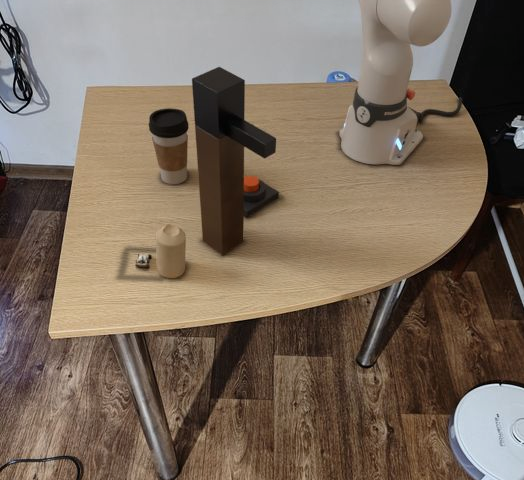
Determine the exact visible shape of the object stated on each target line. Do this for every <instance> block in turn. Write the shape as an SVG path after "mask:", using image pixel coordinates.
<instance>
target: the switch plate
mask: <svg viewBox="0 0 524 480" xmlns="http://www.w3.org/2000/svg"><path fill="white" fill-rule="evenodd" d="M258 180H259V189H258V190H257V191H256V192H246V191H244V217H245V218H249V217H251V216H252V215H254V214H256V213H257V212H259V211H260V210H262V209H264V208H265V207H266V206H268V205H270V204H271V203H274V201H276V200H278V199H279V197H280V195H279V194H280V191H279V190H276V188H273V187H272V186H271V185H269V184H267V183H266V182H264V181H263V180H262V179H259V178H258Z"/></svg>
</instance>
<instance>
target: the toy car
mask: <svg viewBox="0 0 524 480" xmlns="http://www.w3.org/2000/svg"><path fill="white" fill-rule="evenodd" d="M152 259H153V256H152V254H150V253H149V252H139V253H138V254H137V259H136V260H135V268H136V269H137V268H138V269H150V264H149V262H150V260H152Z"/></svg>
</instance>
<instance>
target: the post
mask: <svg viewBox="0 0 524 480" xmlns="http://www.w3.org/2000/svg"><path fill="white" fill-rule="evenodd" d="M194 130H195V131H194V132H195V144H196V145H195V146H196V160H197V176H198V189H199V190H198V191H199V203H200V205H199V206H200V219H201V220H200V221H201V235H202V242H203V243H205V244H206V245H207V246H208V247H210V248H211V249H212V250H214V251H216V252H217V253H218V254H219V255H221V256H224V255H226V254H227V253H229V252H230V251H232V250H233V249H236V248H237V247H238V246H240V245H241V244H242V243H244V229H245V228H244V225H245V224H244V221H245V220H244V217H245V216H244V178H245V147H244V146H243V145H241V144H239V143H238V142H236V141H234V140H233V139H231V138H229V137H228V136H225V137H223V138H221V139H217V138H215V137H214V136H212V135H210V134H209V133H207V132H206V131H204V130H202V129H201V128H199V127H197V126H196V125H195V124H194Z"/></svg>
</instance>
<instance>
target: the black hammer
mask: <svg viewBox="0 0 524 480" xmlns="http://www.w3.org/2000/svg"><path fill="white" fill-rule="evenodd" d="M191 85H192V86H191V87H192V103H193V116H194V117H193V118H194V126H195V125H196V126H197V127H199V128H201V129H202V130H204V131H206V132H207V133H209V134H210V135H212V136H214V137H215V138H217V139H221V138H223V137H225V136H228V137H229V138H231V139H233V140H234V141H236V142H238V143H239V144H241V145H243V146H244V148H246V149H248V150H249V151H251V152H253V153H255V154H256V155H257V156H259V157H261V158H263V159H267V158H269V157H271V156H273V155H274V154H276V152H277V138H276V137H275V136H273V135H272V134H270V133H268V132H266V131H265V130H262V129H261V128H260V127H258V126H256V125H254V124H252V123H251V122H249V121H247V120H246V119H245V107H246V106H245V105H246V104H245V102H246V101H245V100H246V99H245V96H246V94H245V93H246V89H245V88H246V80H245V79H243V78H242V77H240V76H238V75H236V74H235V73H232V72H231V71H229V70H227V69H225V68H223V67H221V66H218V67H215V68H213V69H211V70H209V71H206V72H204V73H201V74H199V75H197V76H195V77H192V78H191Z"/></svg>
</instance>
